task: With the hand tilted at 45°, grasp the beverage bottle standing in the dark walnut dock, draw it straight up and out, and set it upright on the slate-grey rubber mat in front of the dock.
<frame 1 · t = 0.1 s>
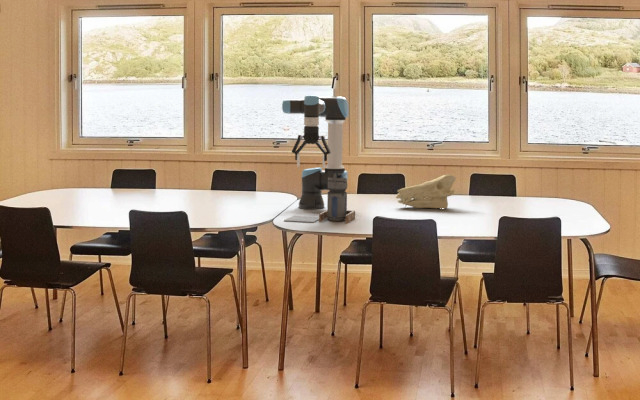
hand: (310, 167, 388), 28 cm above the table, tool pointing down, fingers open, 13 cm apart
walnut dock: (337, 219, 395), on the table
grey rubber mat: (303, 219, 394), on the table
animal skull: (424, 208, 445), on the table
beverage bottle: (337, 220, 395), resting in walnut dock
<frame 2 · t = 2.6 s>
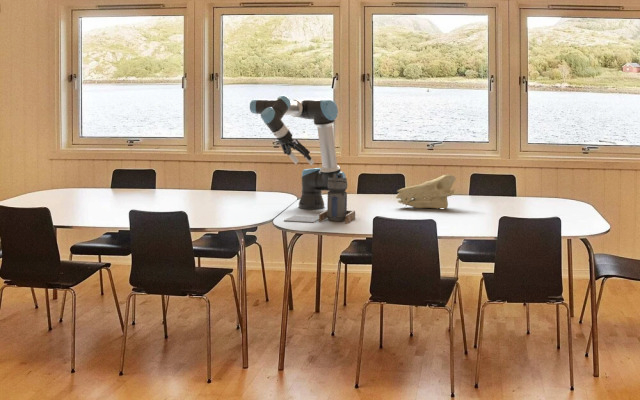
hand: (304, 163, 395), 29 cm above the table, tool tilted 40°, fingers open, 13 cm apart
nothing on the table moved.
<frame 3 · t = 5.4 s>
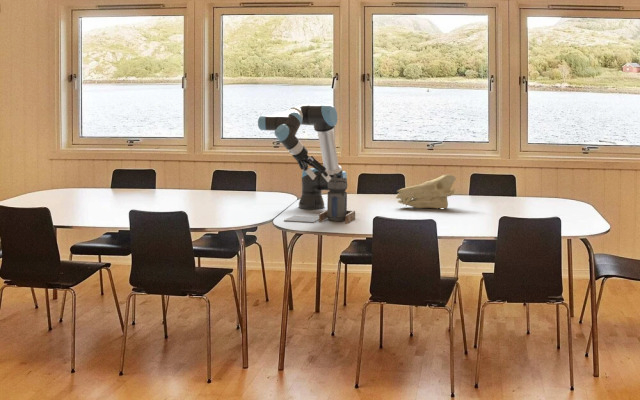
hand: (321, 179, 386), 22 cm above the table, tool tilted 45°, fingers open, 13 cm apart
nothing on the table moved.
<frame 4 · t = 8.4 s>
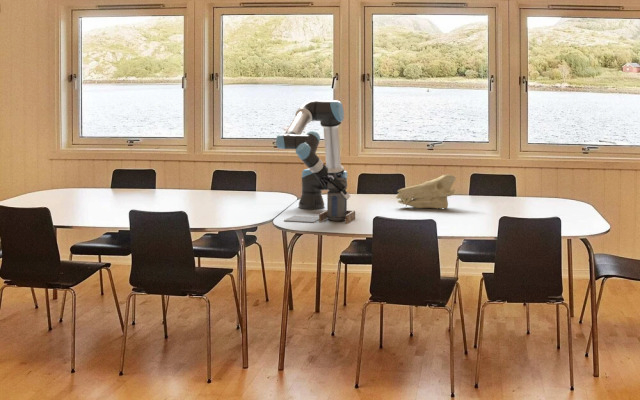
hand: (342, 196, 395), 12 cm above the table, tool tilted 45°, fingers closed on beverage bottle, 10 cm apart
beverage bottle: (337, 220, 395), resting in walnut dock, touching gripper
everything else where it was.
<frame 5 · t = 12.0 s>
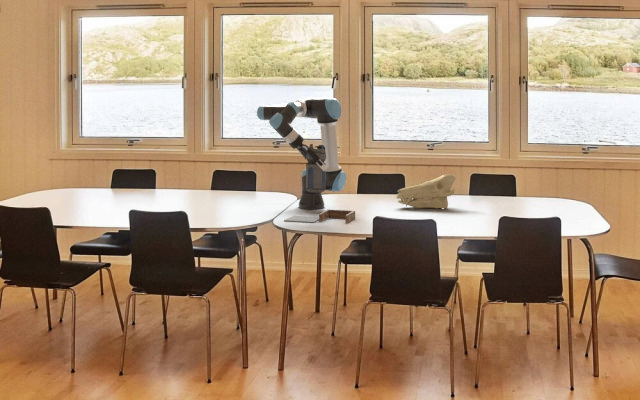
hand: (322, 168, 391), 27 cm above the table, tool tilted 45°, fingers closed on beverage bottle, 10 cm apart
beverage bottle: (316, 192, 392), point 15 cm above the table, touching gripper
everything else where it was.
when the fingers open (14 cm above the table, at t = 15.9 s): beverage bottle drops 1 cm, resting on grey rubber mat.
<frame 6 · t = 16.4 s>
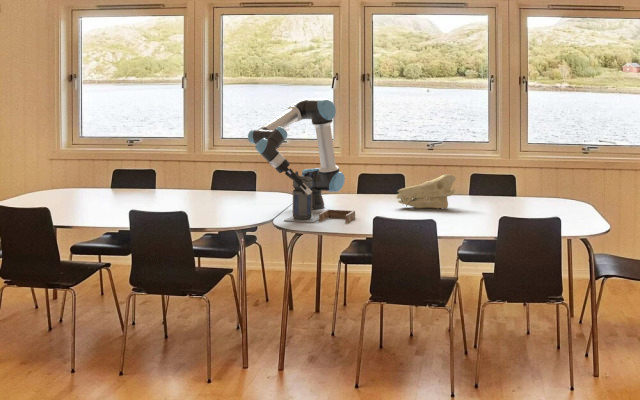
hand: (308, 191, 393), 15 cm above the table, tool tilted 45°, fingers open, 13 cm apart
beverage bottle: (303, 218, 395), resting on grey rubber mat
everything else where it was.
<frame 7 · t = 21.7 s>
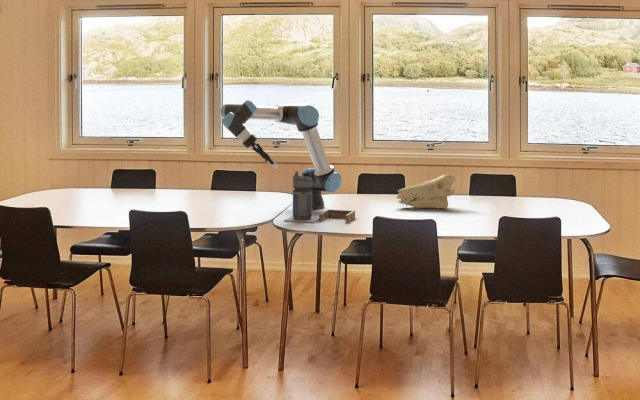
hand: (276, 167, 388), 28 cm above the table, tool tilted 45°, fingers open, 13 cm apart
nothing on the table moved.
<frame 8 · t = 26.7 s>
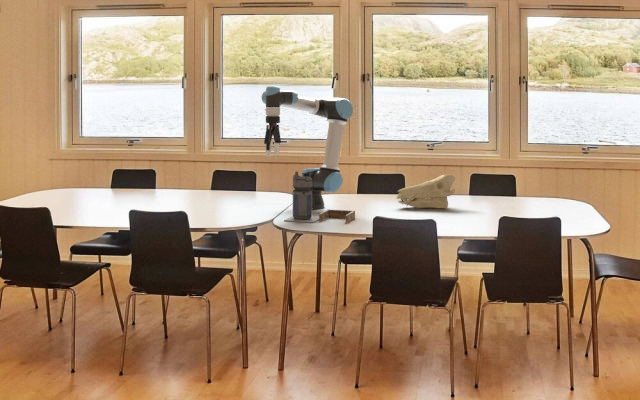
hand: (272, 155, 400), 33 cm above the table, tool pointing down, fingers open, 13 cm apart
at the end: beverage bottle inside the target area on the grey rubber mat (0.5 cm from its centre), point 0.4 cm above the grey rubber mat's base; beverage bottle tilted 0°; the gripper is holding nothing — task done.
